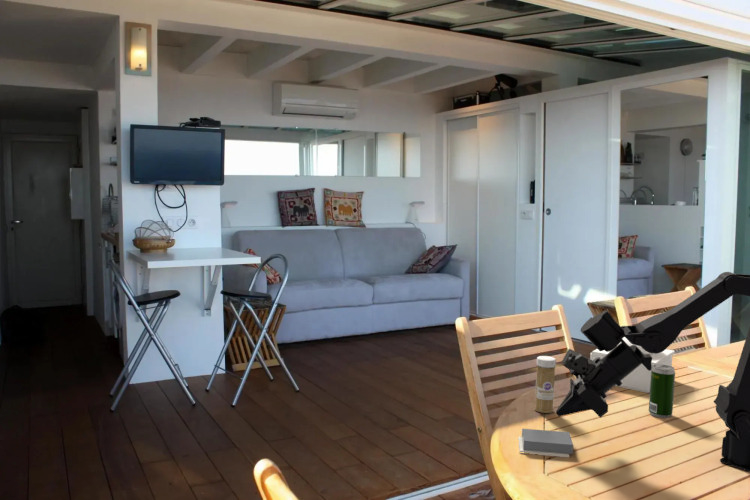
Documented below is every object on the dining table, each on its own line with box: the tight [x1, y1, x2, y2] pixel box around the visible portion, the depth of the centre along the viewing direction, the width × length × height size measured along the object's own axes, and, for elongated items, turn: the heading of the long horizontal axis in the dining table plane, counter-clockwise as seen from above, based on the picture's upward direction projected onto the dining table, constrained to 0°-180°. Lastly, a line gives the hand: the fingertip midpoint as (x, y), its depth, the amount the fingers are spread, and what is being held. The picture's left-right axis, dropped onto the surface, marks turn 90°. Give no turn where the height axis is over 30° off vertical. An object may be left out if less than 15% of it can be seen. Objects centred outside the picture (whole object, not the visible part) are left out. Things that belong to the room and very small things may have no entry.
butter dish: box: [589, 337, 676, 394], centre depth 194 cm, size 18×18×16 cm
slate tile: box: [521, 428, 574, 455], centre depth 145 cm, size 2×7×10 cm
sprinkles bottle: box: [534, 355, 557, 414], centre depth 167 cm, size 5×5×14 cm
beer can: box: [648, 364, 676, 419], centre depth 166 cm, size 5×5×12 cm
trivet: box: [517, 436, 570, 458], centre depth 145 cm, size 10×8×1 cm
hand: (557, 414), depth 144 cm, fingers closed
